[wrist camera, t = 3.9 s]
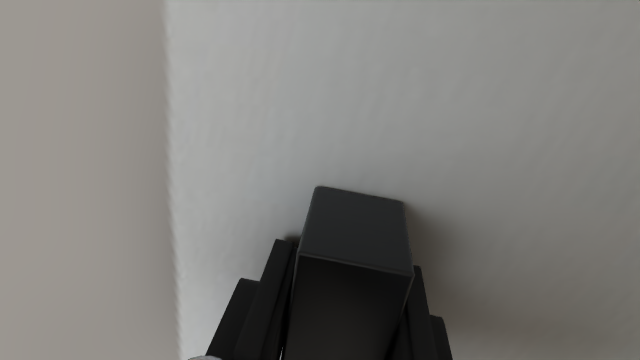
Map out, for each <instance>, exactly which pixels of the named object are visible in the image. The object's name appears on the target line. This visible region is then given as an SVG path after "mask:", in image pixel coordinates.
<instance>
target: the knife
mask: <svg viewBox="0 0 640 360" xmlns="http://www.w3.org/2000/svg"><path fill="white" fill-rule="evenodd" d="M414 276H415V274H414V268H413V262H412V256H411V250H410V244H409V237H408V231H407V225H406V219H405V213H404V207H403V203H402V202H400V201H395V200H389V199H384V198H378V197H373V196H368V195H362V194H357V193H351V192H346V191H341V190H335V189H330V188H324V187H319V186H317V187H315V189H314V193H313V196H312V200H311V204H310V207H309V211H308V214H307V218H306V222H305V225H304V229H303V233H302V236H301V240H300V244H299V247H298V251H297V256H296V263H295V269H294V276H293V283H292V289H291V296H290V303H289V309H288V316H287V323H286V329H285V336H284V343H283V349H282V356H281V360H387V357H388V354H389V351H390V348H391V345H392V342H393V339H394V336H395V333H396V330H397V327H398V324H399V321H400V318H401V315H402V312H403V309H404V306H405V303H406V300H407V297H408V294H409V291H410V288H411V285H412V282H413V279H414Z"/></svg>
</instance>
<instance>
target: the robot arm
mask: <svg viewBox="0 0 640 360" xmlns="http://www.w3.org/2000/svg"><path fill="white" fill-rule="evenodd" d="M297 251H298V248H295V247H294V242H289V241H284V240H279V239H276V240H275V243H274V245H273V248H272V251H271V253H270V256H269V259H268V261H267V264H266V267H265V269H264V272H263V275H262V277H261V280H260V282H259V281H254V280H249V279H244V278H241V279H240V280H239V282H238V284H237V286H236V288H235V290H234V292H233V295H232V297H231V299H230V301H229V304H228V306H227V308H226V310H225V312H224V315H223V317H222V319H221V321H220V324H219V326H218V328H217V330H216V332H215V335H214V337H213V339H212V341H211V344H210V346H209V348H208V350H207V352H206V355H205V356H198V357H194V358H190V359H188V360H280V356H281V352H282V347H283V343H284V336H285V329H286V323H287V316H288V309H289V303H290V296H291V289H292V283H293V276H294V269H295V263H296V256H297ZM413 268H414V274H415V276H414V279H413V282H412V285H411V288H410V291H409V294H408V297H407V300H406V303H405V306H404V309H403V312H402V315H401V318H400V321H399V324H398V327H397V330H396V333H395V336H394V339H393V342H392V345H391V348H390V351H389V354H388V357H387V360H453V359H452V354H451V350H450V346H449V341H448V337H447V333H446V328H445V324H444V321H443V319H442V318H441V317H438V316H433V315H430V314H429V309H428V304H427V299H426V293H425V288H424V283H423V278H422V272H421V268H420V267H419V266H415V265H413Z"/></svg>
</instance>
